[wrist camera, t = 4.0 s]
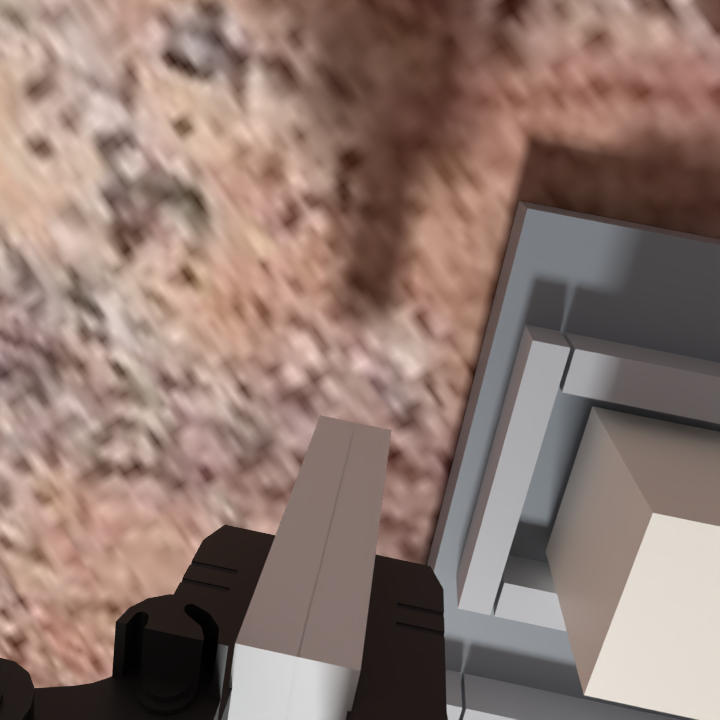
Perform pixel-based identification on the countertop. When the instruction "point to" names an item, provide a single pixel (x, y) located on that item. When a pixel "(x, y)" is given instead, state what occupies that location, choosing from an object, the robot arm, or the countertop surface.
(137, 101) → the countertop surface
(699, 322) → the grey compartment tray
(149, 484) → the countertop surface
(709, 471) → the tab
